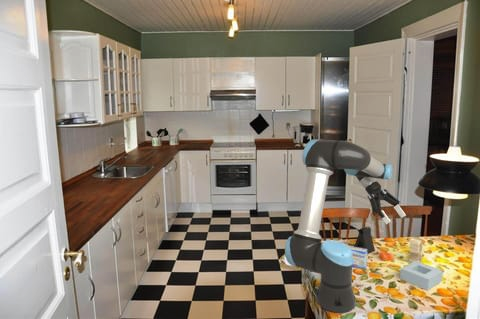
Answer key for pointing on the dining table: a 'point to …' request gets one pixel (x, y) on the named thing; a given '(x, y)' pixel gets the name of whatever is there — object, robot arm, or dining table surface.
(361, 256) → the medicine box
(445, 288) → the dining table surface
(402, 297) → the dining table surface
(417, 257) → the peg
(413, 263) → the socket block
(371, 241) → the black jug
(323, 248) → the robot arm
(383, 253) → the rock
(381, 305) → the dining table surface
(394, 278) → the dining table surface
